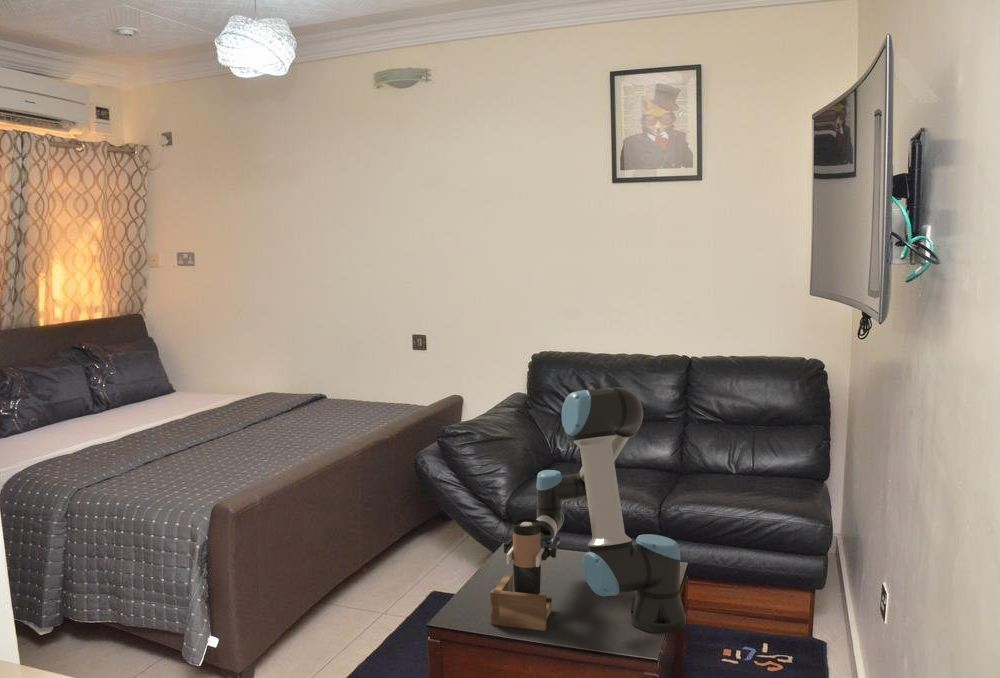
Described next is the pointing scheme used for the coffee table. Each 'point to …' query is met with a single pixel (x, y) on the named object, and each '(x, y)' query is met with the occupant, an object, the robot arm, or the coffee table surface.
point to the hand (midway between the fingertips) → (522, 560)
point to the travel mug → (526, 555)
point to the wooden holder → (518, 607)
